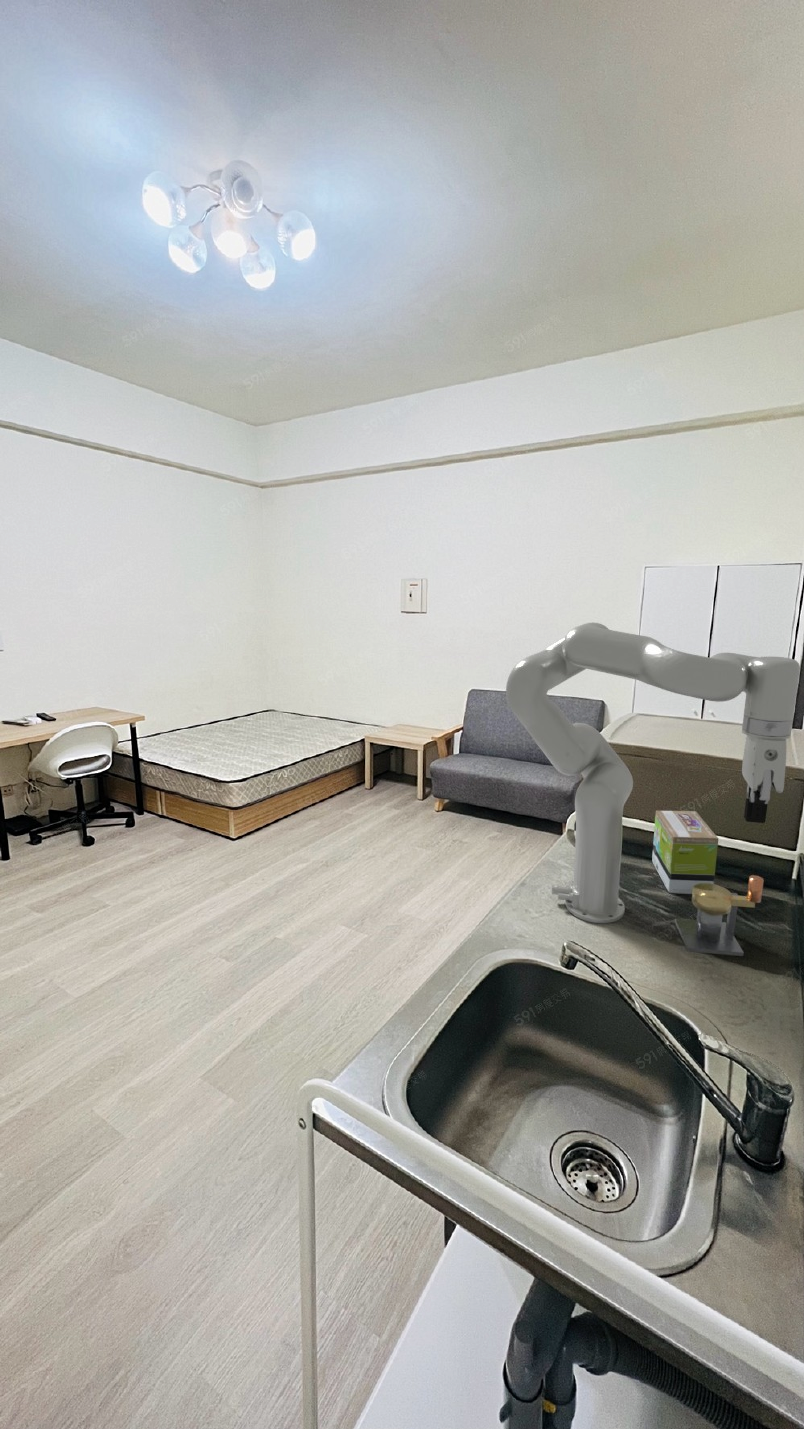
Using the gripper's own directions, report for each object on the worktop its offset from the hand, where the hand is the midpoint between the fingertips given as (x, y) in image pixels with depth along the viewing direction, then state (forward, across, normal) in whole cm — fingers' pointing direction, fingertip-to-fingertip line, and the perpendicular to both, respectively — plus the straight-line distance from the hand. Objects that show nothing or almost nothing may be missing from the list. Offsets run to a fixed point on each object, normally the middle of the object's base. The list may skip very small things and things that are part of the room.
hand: (754, 820), depth 109 cm
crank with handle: (+19, +2, +3) cm, 20 cm away
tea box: (+27, +25, +8) cm, 38 cm away
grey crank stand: (+27, +1, +5) cm, 28 cm away
